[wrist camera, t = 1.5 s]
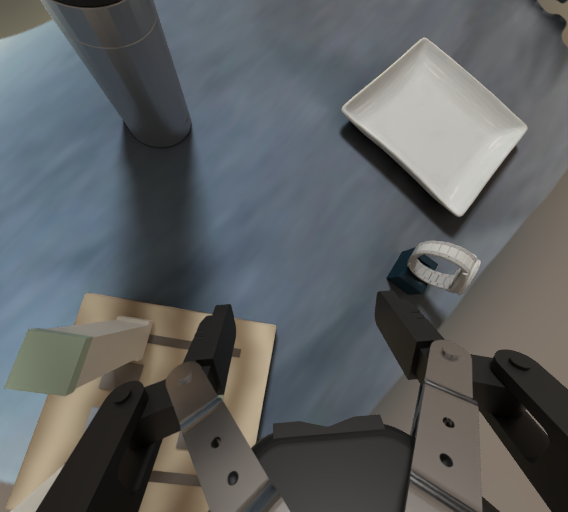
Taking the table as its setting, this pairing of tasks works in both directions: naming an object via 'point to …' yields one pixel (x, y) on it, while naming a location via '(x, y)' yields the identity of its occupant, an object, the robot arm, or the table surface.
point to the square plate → (437, 124)
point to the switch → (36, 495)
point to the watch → (433, 268)
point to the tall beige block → (76, 354)
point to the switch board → (151, 369)
